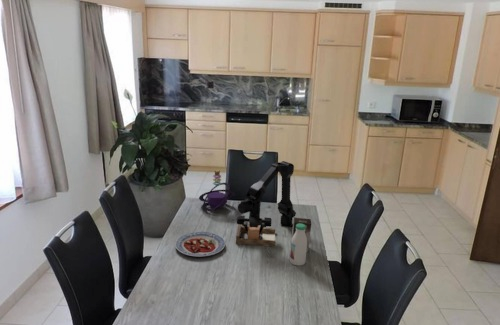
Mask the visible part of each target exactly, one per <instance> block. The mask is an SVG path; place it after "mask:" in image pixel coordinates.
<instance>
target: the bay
mask: <svg viewBox="0 0 500 325" xmlns="http://www.w3.org/2000/svg"><path fill="white" fill-rule="evenodd" d="M259 230H260V227H259ZM242 232H246V229H245V227H244V226H242V225H241V224H237V231H236V234H235V244H236V245H237V244H241V245H254V246H267V247H268V246H269V247H275V246H276V228H273V227H264V228H263V229H262V231H261V234H262V238H261V239H260V238H259V239H248V238H242V237H241V233H242ZM246 233H247V232H246Z"/></svg>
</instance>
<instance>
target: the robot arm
mask: <svg viewBox="0 0 500 325" xmlns="http://www.w3.org/2000/svg"><path fill="white" fill-rule="evenodd" d="M294 170H295V166H294V164H293V163H291V162H287V161H284V160H282V161H281V162H280V161H279V162H275V163H272V164H271V165H270V167H269V169H268V170H267V172H266V173H264V175H263V176H262V177H261V178H260V179H259V180H258V181H257V182H255V183H253V184H252V185H251V186H250V187H249V188H248V191H247V192H246V194H245V197H244V200H241V201H240V202H239V203H238V205H237V211H238V212H239V214H241V215H238V216H237V217H236V225H238V224H241V226H244V227H245V229H246V235H247V236H248V227H255V228H257V227H258V225H260V230H259V237H260V235H261V234H262V233H261V231H262V229H263V228H267V227H268V228H271V227H272V218H271V217H264V219H263V218H262V217H261V207H262V206H261V203H262V201H264V198H263V196H264V195H265V193H266V188H267V187H268V186H269V184H270V183H271V182H272V181H273V179H275V177H276V176H277V174H278V173H279V175H280V176H281V199H280V201H278V203H277V209H278V213H279V214H280V221H279V222H280V226H281V227H292V228H293V219H294V217H296V215H297V213H296V211H295V210H294V206H293V202H292V201H291V177H292V176H293V174H294ZM247 213H249V217H248V218H246V216H245V215H244V214H247Z"/></svg>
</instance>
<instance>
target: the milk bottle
mask: <svg viewBox="0 0 500 325" xmlns="http://www.w3.org/2000/svg"><path fill="white" fill-rule="evenodd" d="M305 228H306V226H305V225H304V224H301V223H299V224H296V232H295V234H294V235H293V237H292V236H291V240H292V242H291V241H290V251H289V252H290V253H289V263H291V265H294V266H298V267H299V266H303V265H305V263H306V260H307V259H306V258H307V252H306V250H307V238H306V235H305Z"/></svg>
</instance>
